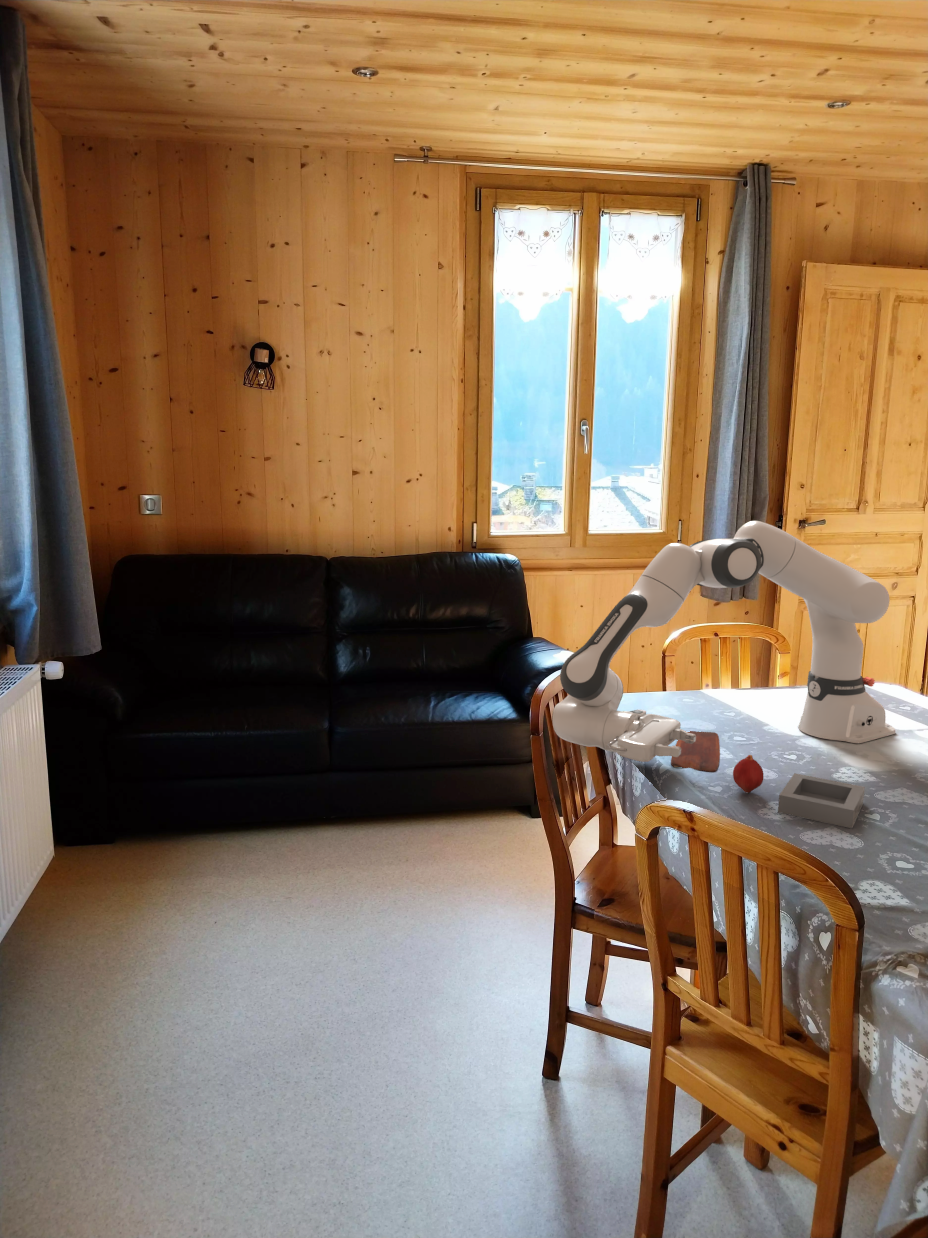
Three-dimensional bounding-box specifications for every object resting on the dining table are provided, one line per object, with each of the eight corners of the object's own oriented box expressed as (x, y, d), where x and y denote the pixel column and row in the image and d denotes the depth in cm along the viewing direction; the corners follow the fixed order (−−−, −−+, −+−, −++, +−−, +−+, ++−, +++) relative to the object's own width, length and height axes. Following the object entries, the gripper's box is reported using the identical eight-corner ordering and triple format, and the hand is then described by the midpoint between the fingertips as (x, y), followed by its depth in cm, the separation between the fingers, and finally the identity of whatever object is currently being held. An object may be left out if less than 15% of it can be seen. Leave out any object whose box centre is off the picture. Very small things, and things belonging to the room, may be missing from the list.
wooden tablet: (717, 776, 186) (718, 768, 185) (669, 770, 189) (669, 762, 188) (722, 736, 210) (723, 729, 210) (680, 731, 214) (680, 724, 213)
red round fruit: (727, 787, 178) (729, 749, 176) (754, 786, 178) (757, 749, 177) (738, 798, 172) (741, 760, 171) (766, 798, 173) (770, 759, 171)
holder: (777, 812, 166) (779, 795, 165) (793, 789, 177) (794, 773, 176) (851, 828, 159) (853, 810, 159) (863, 804, 170) (864, 787, 169)
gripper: (605, 731, 178) (671, 745, 171) (642, 707, 195) (703, 718, 188) (603, 761, 179) (669, 776, 172) (640, 734, 196) (701, 746, 189)
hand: (687, 745), depth 180 cm, fingers open, 8 cm apart
